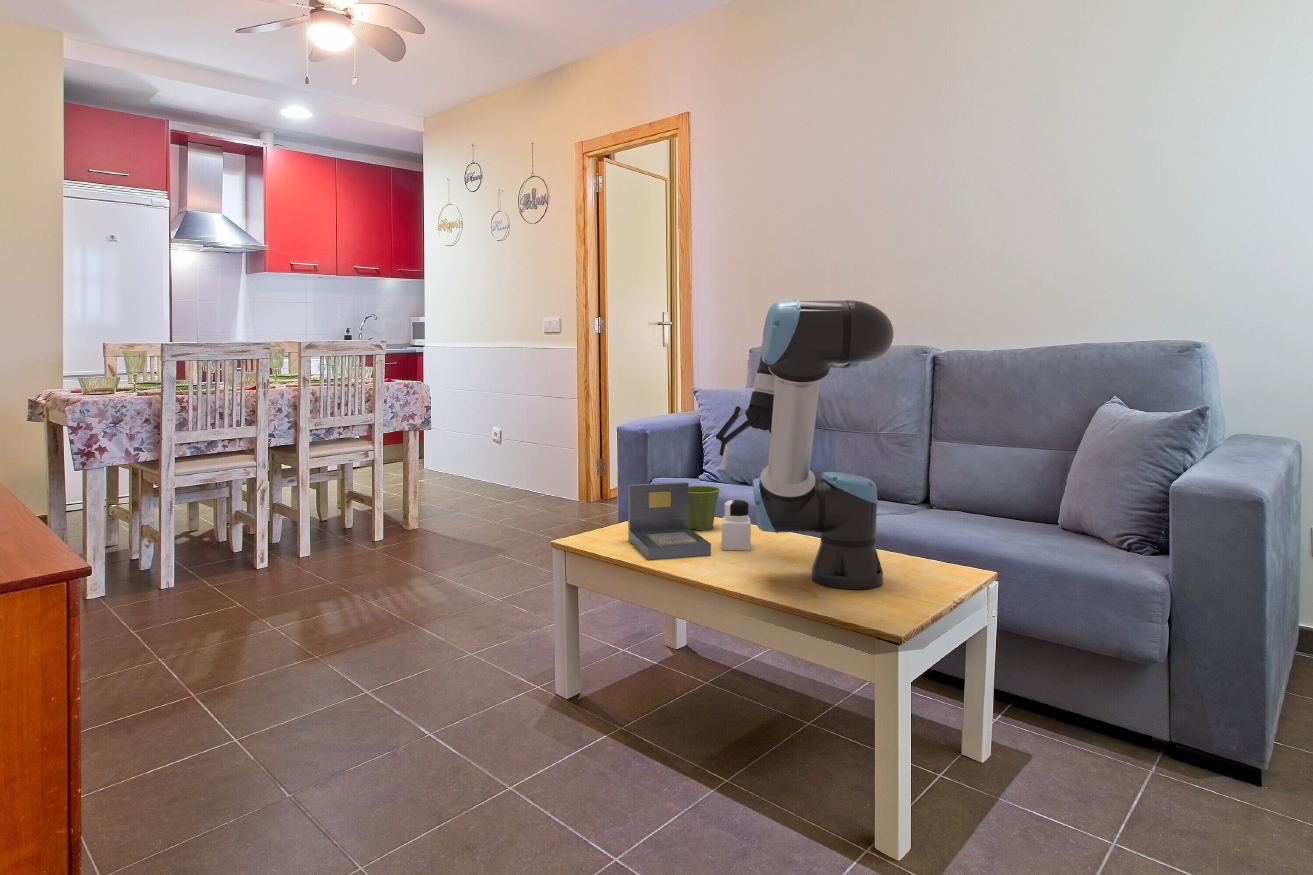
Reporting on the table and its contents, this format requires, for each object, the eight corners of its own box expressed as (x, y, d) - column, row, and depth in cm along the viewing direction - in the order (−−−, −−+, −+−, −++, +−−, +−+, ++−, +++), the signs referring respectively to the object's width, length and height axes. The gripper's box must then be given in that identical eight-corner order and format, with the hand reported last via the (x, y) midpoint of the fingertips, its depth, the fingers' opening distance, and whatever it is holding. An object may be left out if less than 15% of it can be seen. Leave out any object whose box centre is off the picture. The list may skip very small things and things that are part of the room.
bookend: (710, 555, 189) (711, 495, 187) (648, 560, 184) (647, 498, 183) (685, 536, 208) (686, 481, 206) (628, 540, 204) (628, 484, 202)
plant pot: (701, 521, 227) (701, 483, 225) (729, 528, 217) (729, 489, 216) (670, 526, 219) (670, 488, 218) (697, 534, 210) (697, 494, 209)
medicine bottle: (749, 544, 200) (750, 498, 199) (750, 551, 193) (751, 504, 192) (722, 543, 201) (722, 498, 199) (721, 550, 194) (722, 503, 192)
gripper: (818, 404, 192) (798, 487, 193) (722, 384, 199) (704, 464, 200) (815, 402, 185) (795, 488, 186) (716, 381, 192) (697, 464, 193)
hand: (748, 475), depth 193 cm, fingers open, 13 cm apart
